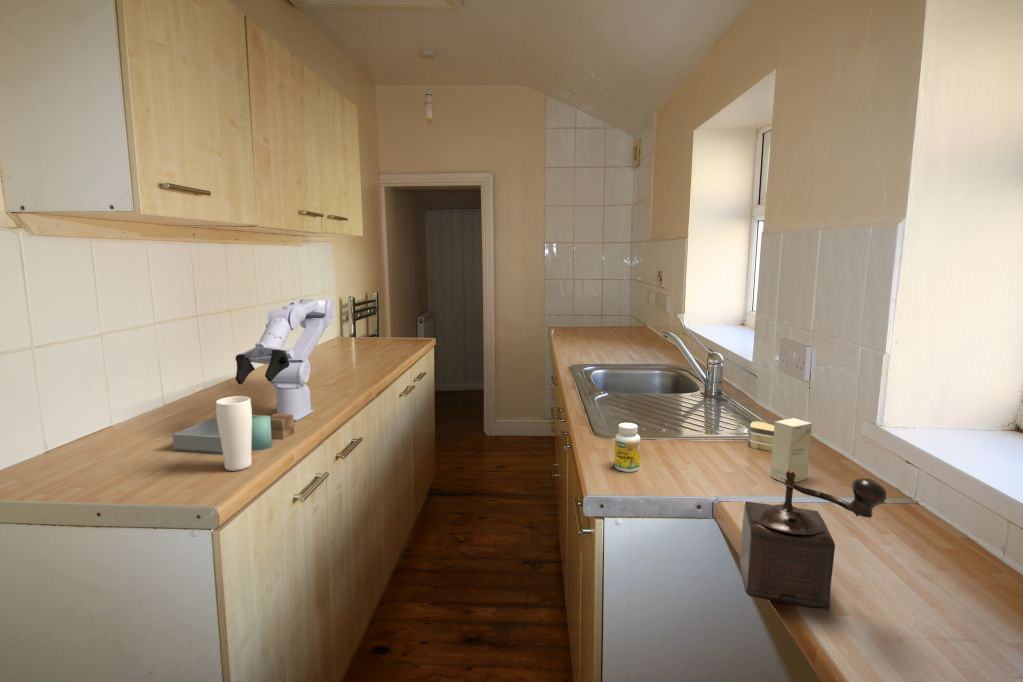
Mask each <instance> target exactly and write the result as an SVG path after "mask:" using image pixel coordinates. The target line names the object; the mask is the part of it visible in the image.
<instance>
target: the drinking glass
mask: <svg viewBox="0 0 1023 682" xmlns="http://www.w3.org/2000/svg"><path fill="white" fill-rule="evenodd" d="M252 408H253V407H252V400H251V397H249V396H245V395H239V396H238V395H236V396H235V395H234V396H228V397H227V396H226V397H223V398H219V399H217V400H216V401H215V413H216V414H215V416H216V417H217V424H218V430H219V435H220V440H221V446H222V451H223V454H222V456H223V464H224V468H225V470H227V471H230V472H236V471H237V472H238V471H242V470H247V469H248V468H250V467H251V466H252V464H253V458H252V451H253V450H252V415H253V410H252Z"/></svg>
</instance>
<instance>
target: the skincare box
mask: <svg viewBox="0 0 1023 682" xmlns="http://www.w3.org/2000/svg"><path fill="white" fill-rule="evenodd" d="M812 425H813V423H812V422H810V421H806V420H802V419H798V418H795V417H791V418H786V419H785V418H784V419H781V420H775V421H774V439H773V451H772V452H771V454H772V455H771V464H770V477H771V478H772V479H775V480H777V481H780V482H782V483H784V481H785V480H786V479H787V478H786V473H787V472H788V471H792V472H794V473H795V475H796V476H795V479H794V481H795V482H796V483H797V482H802V481H805V480H807V479H808V472H809V471H808V470H809V461H810V460H809V459H810V451H811V450H810V449H811V448H810V447H811V438H812V428H813V427H812Z"/></svg>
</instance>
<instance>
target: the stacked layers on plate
mask: <svg viewBox="0 0 1023 682" xmlns="http://www.w3.org/2000/svg"><path fill="white" fill-rule="evenodd" d="M749 426H750V429H749V433H751V434H750V436H749V438H748V441H750V446H749V447H750V448H751V449H755V450H762V451H767V452H771V453H772V451H773V439H774V426H775V424H771V423H768V422H763V421H751V423H750V425H749Z"/></svg>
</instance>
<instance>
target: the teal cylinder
mask: <svg viewBox="0 0 1023 682" xmlns="http://www.w3.org/2000/svg"><path fill="white" fill-rule="evenodd" d="M259 415H260V416H253V417H252V451H262V450H267V449H270V448H271V447H273V439H272V437H271V422H270V416H271V415H266V414H265V415H263V414H262V415H261V414H259Z"/></svg>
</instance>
